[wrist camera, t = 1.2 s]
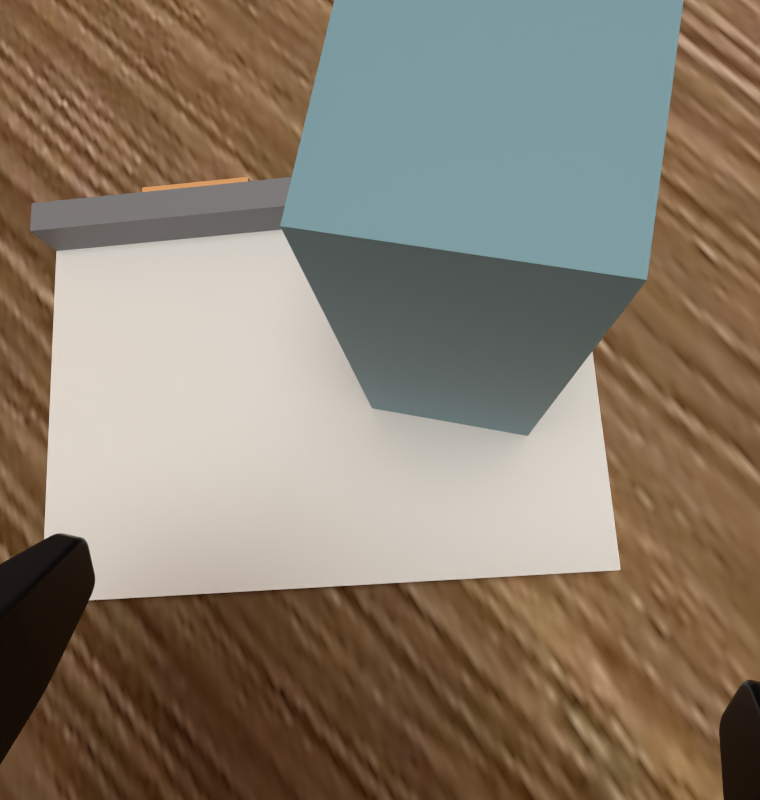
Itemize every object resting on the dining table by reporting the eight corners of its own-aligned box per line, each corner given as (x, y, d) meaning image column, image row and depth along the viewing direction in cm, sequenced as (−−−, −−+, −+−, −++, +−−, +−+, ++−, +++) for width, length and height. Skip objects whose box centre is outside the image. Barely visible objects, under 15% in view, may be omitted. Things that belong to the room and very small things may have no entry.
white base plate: (610, 568, 22) (635, 571, 19) (61, 600, 23) (10, 607, 20) (563, 192, 25) (578, 147, 22) (74, 239, 26) (31, 203, 23)
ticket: (264, 216, 25) (248, 184, 23) (167, 225, 25) (142, 195, 23) (264, 208, 25) (248, 177, 23) (167, 218, 25) (142, 187, 23)
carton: (527, 435, 22) (647, 280, 9) (371, 408, 22) (279, 226, 10) (552, 282, 23) (690, -52, 10) (402, 260, 23) (353, -82, 11)
